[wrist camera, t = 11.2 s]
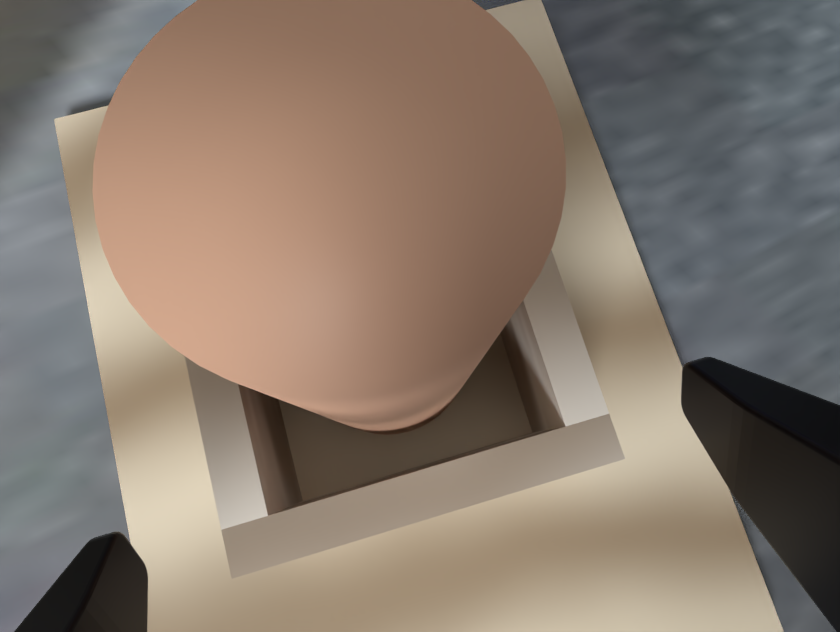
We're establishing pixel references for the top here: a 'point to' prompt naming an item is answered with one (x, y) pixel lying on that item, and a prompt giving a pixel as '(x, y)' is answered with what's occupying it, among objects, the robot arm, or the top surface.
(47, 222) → the top surface
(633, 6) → the top surface
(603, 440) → the socket
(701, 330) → the top surface
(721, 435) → the robot arm
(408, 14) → the peg
